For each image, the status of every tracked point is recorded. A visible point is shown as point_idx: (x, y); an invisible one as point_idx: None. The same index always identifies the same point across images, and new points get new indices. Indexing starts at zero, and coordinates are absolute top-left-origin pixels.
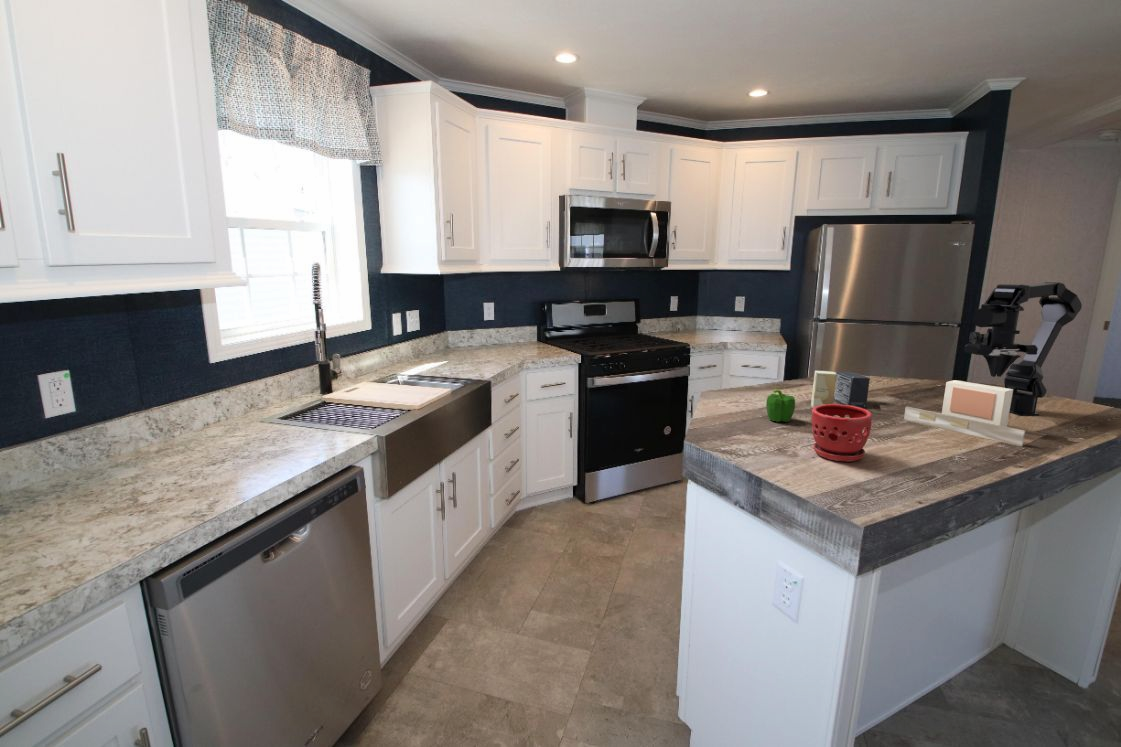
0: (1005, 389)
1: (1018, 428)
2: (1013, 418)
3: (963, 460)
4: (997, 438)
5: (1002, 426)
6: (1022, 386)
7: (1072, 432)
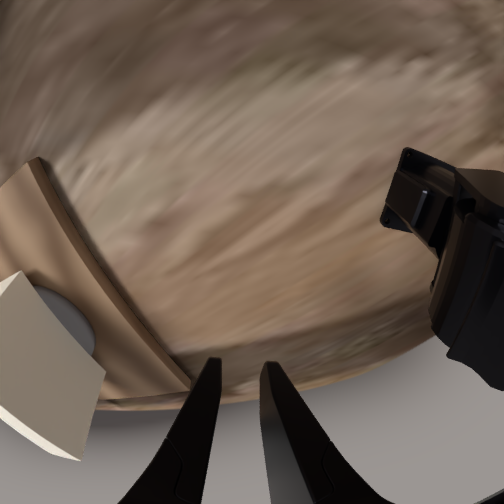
0: (61, 453)
1: (159, 359)
2: (318, 240)
3: None
4: None
5: None
6: (435, 295)
7: (315, 359)
